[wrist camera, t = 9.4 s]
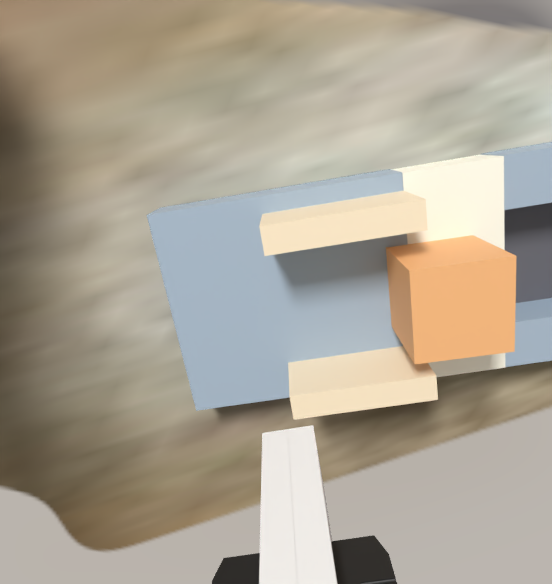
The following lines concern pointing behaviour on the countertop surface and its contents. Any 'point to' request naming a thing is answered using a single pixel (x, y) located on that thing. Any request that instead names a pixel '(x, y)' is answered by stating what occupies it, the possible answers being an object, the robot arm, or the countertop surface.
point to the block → (452, 298)
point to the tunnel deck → (328, 288)
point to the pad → (461, 220)
